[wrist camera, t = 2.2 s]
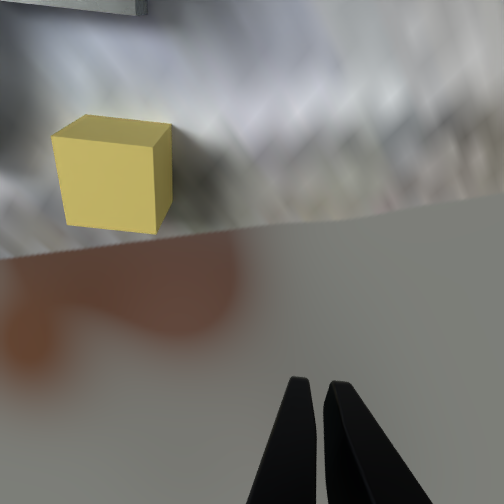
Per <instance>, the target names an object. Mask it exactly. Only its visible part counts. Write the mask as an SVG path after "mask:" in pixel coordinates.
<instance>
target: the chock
mask: <svg viewBox="0 0 504 504" xmlns="http://www.w3.org/2000/svg"><path fill="white" fill-rule="evenodd" d="M51 140H52V145H53V151H54V156H55V162H56V167H57V173H58V178H59V184H60V189H61V194H62V200H63V205H64V211H65V216H66V222H67V225H73V226H82V227H91V228H101V229H110V230H119V231H129V232H138V233H147V234H157V232H158V230H159V228H160V226H161V224H162V222H163V220H164V218H165V216H166V214H167V212H168V210H169V208H170V206H171V204H172V202H173V194H172V125H171V124H167V123H158V122H149V121H140V120H131V119H122V118H113V117H105V116H96V115H87V114H85V115H84V116H82V117H80V118H79V119H77V120H76V121H74V122H72V123H71V124H69V125H68V126H66V127H64V128H63V129H61V130H60V131H58V132H56V133H55V134H53V135H52V136H51Z"/></svg>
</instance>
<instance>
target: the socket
mask: <svg viewBox="0 0 504 504" xmlns="http://www.w3.org/2000/svg"><path fill="white" fill-rule="evenodd" d="M1 1H10V2H18V3H27V4H36V5H44V6H53V7H62V8H70V9H79V10H88V11H97V12H105V13H114V14H123V15H131V16H139V15H146V14H147V0H1Z"/></svg>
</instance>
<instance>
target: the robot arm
mask: <svg viewBox="0 0 504 504" xmlns="http://www.w3.org/2000/svg"><path fill="white" fill-rule="evenodd" d="M323 422H324V455H325V478H326V479H325V480H326V489H327V497H328V504H433V503H432V502H431V500H430V499H429V498H428V496H427V495H426V493H425V491H424V490H423V489H422V487H421V486H420V484H419V483H418V481H417V480H416V478H415V477H414V476H413V474H412V472H411V471H410V470H409V468H408V467H407V465H406V464H405V462H404V461H403V459H402V458H401V456H400V455H399V453H398V452H397V450H396V449H395V448H394V447H393V445H392V443H391V442H390V440H389V439H388V437H387V436H386V434H385V433H384V431H383V430H382V428H381V427H380V426H379V424H378V423H377V421H376V420H375V418H374V417H373V415H372V414H371V412H370V411H369V409H368V408H367V407H366V405H365V404H364V402H363V401H362V399H361V398H360V396H359V395H358V393H357V392H356V390H355V389H354V387H353V386H352V385H351V384H350V383H349V382H344V381H332V382H331V383H330V385H329V389H328V392H327V395H326V398H325V401H324V406H323ZM316 435H317V434H316V423H315V416H314V410H313V403H312V397H311V390H310V384H309V380H308V379H307V378H305V377H295V376H292V377H291V378H290V380H289V382H288V385H287V388H286V391H285V394H284V397H283V400H282V402H281V405H280V408H279V411H278V414H277V417H276V420H275V423H274V425H273V428H272V431H271V434H270V437H269V440H268V443H267V445H266V448H265V451H264V454H263V457H262V459H261V463H260V465H259V468H258V471H257V474H256V477H255V479H254V482H253V485H252V488H251V491H250V494H249V497H248V500H247V502H246V504H316V454H317V453H316V451H317V449H316V448H317V436H316Z"/></svg>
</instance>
